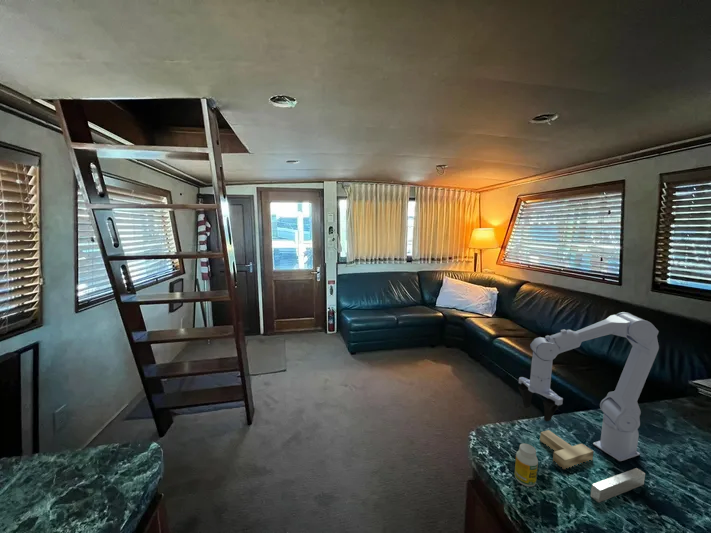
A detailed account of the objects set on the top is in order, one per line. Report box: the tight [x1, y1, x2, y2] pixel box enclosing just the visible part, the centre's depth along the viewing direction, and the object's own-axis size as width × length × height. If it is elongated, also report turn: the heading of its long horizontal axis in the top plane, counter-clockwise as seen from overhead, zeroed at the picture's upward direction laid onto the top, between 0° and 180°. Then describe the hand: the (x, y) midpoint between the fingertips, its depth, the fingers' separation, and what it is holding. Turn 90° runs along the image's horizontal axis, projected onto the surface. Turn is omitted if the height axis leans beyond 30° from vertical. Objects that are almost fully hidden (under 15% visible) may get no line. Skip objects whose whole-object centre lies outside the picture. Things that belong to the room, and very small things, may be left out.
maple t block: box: [539, 429, 594, 470], centre depth 96 cm, size 12×12×3 cm
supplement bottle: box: [514, 442, 539, 488], centre depth 84 cm, size 5×5×10 cm
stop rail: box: [590, 467, 646, 503], centre depth 82 cm, size 18×2×4 cm, turn 109°
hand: (536, 413), depth 101 cm, fingers open, 7 cm apart
